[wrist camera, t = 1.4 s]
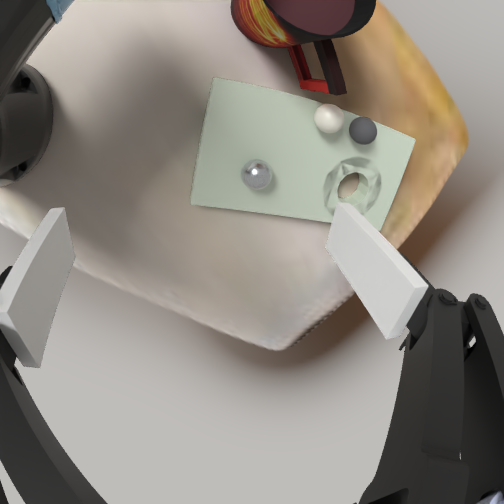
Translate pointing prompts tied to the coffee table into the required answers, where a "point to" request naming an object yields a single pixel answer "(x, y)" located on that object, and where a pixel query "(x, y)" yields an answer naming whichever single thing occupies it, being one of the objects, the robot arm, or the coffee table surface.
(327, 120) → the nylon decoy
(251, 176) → the steel ball
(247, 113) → the board
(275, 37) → the mug
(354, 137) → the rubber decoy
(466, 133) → the coffee table surface
